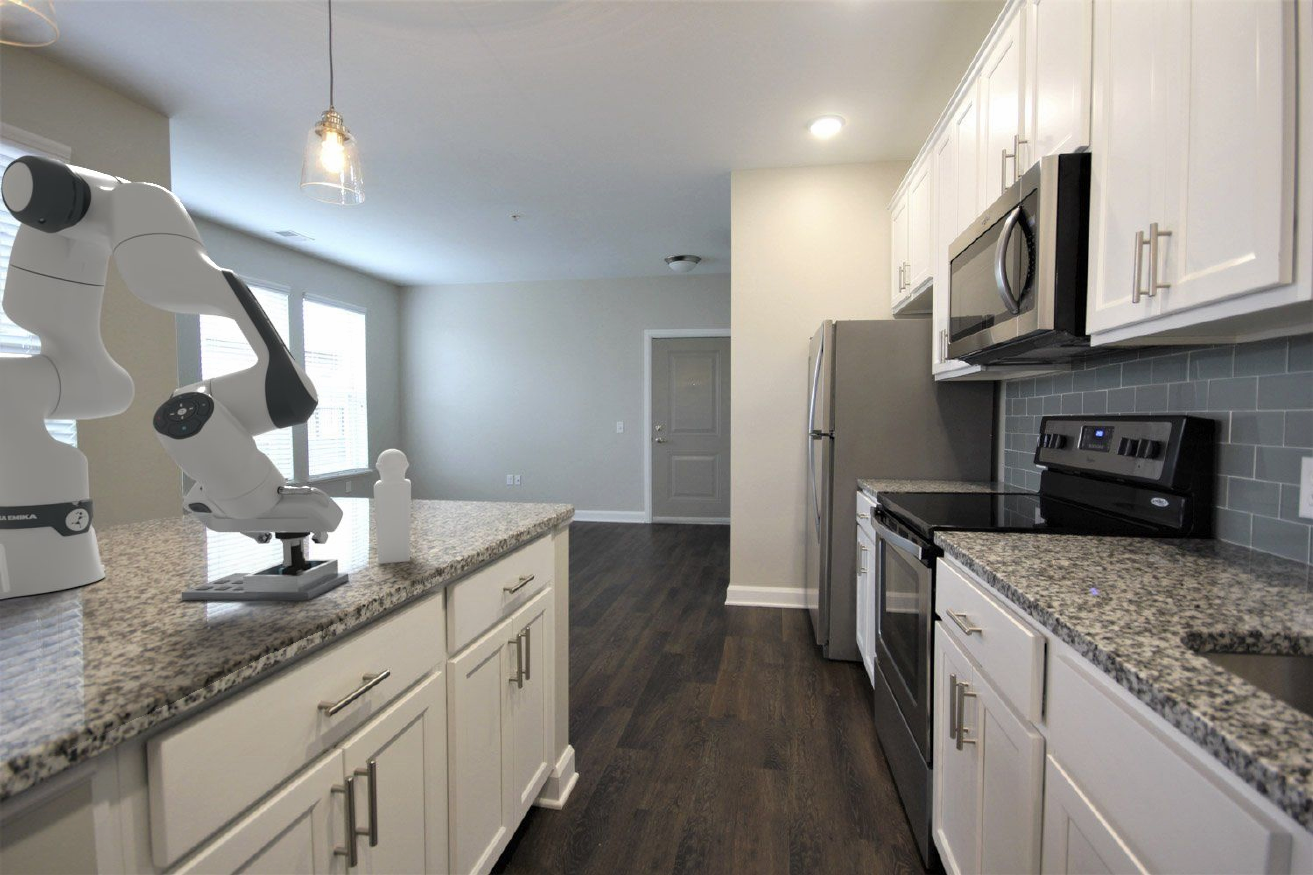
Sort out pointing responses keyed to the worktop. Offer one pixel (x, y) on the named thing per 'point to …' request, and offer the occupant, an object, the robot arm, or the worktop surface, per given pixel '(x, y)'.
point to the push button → (293, 552)
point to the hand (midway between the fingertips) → (294, 540)
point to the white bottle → (392, 508)
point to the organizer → (272, 584)
